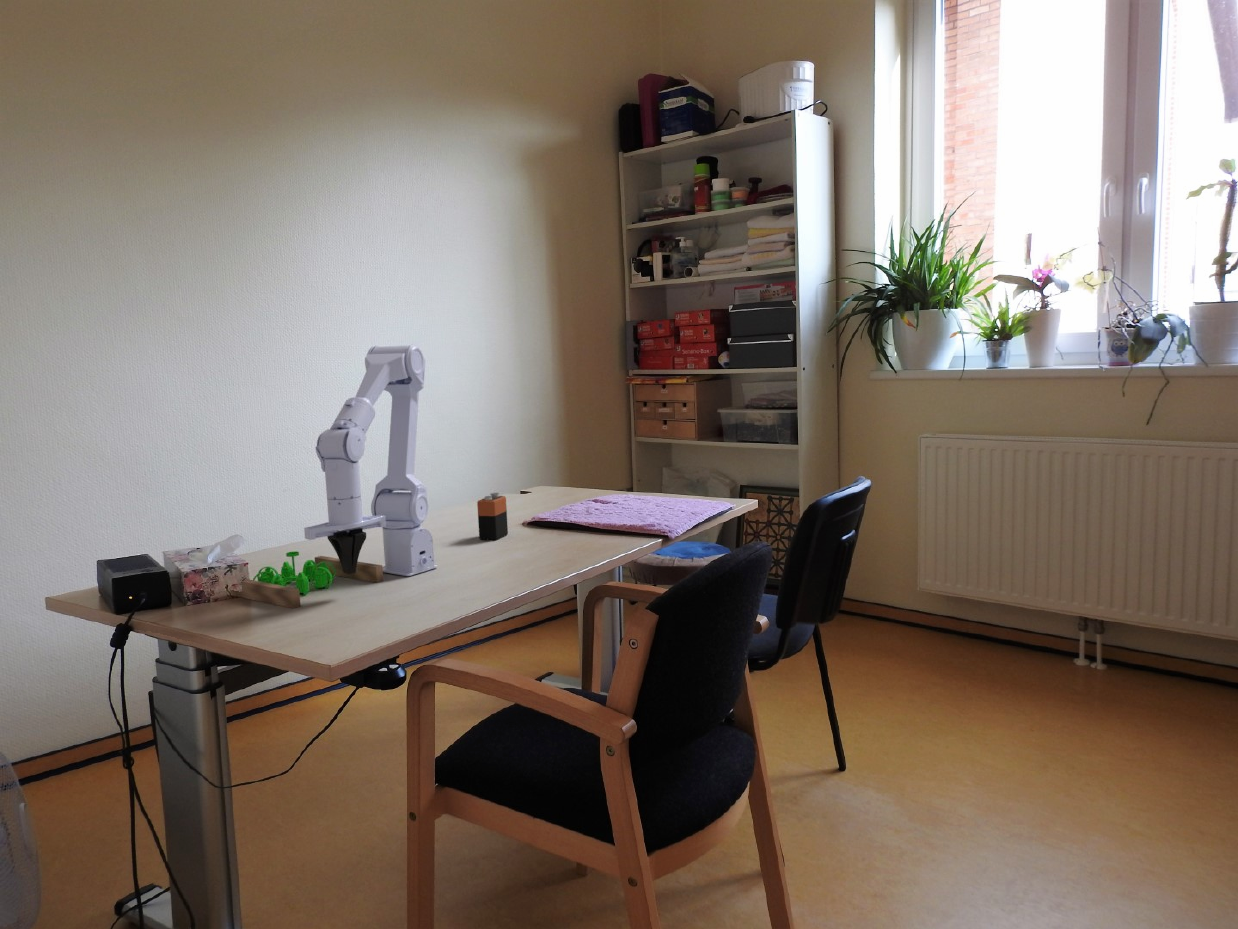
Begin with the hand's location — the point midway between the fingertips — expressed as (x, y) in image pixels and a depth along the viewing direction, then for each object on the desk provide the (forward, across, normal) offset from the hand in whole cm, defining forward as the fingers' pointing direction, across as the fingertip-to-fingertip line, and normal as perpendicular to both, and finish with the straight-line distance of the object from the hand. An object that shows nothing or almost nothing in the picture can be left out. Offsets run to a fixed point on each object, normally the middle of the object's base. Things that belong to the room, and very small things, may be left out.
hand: (349, 572), depth 160 cm
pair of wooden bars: (+4, +2, -12) cm, 13 cm away
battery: (+4, -46, -20) cm, 50 cm away
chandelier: (+5, +4, -14) cm, 15 cm away
